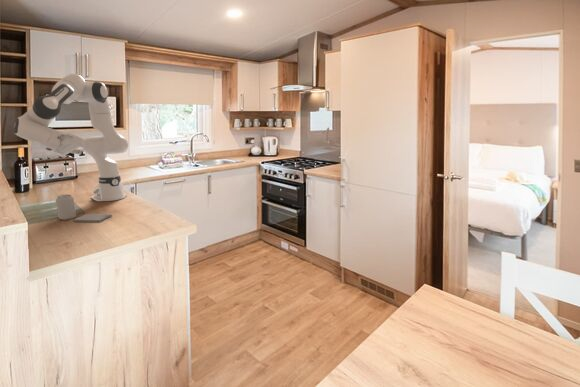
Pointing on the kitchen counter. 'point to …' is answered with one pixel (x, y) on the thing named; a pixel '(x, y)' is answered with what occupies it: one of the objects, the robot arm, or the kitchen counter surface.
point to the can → (65, 207)
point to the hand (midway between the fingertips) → (85, 150)
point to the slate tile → (92, 218)
